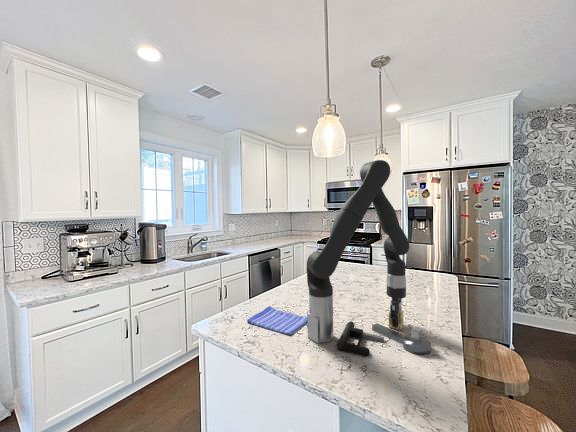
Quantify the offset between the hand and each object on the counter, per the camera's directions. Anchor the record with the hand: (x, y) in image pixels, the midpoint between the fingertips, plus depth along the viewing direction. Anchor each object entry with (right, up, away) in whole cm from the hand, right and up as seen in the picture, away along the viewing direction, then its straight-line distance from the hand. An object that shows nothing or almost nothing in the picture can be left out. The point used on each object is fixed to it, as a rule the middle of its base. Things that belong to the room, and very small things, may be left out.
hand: (396, 324), depth 111 cm
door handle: (-18, -2, -11) cm, 21 cm away
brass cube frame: (0, -1, 0) cm, 1 cm away
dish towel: (-50, -2, +7) cm, 50 cm away
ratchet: (-3, -1, -11) cm, 12 cm away
